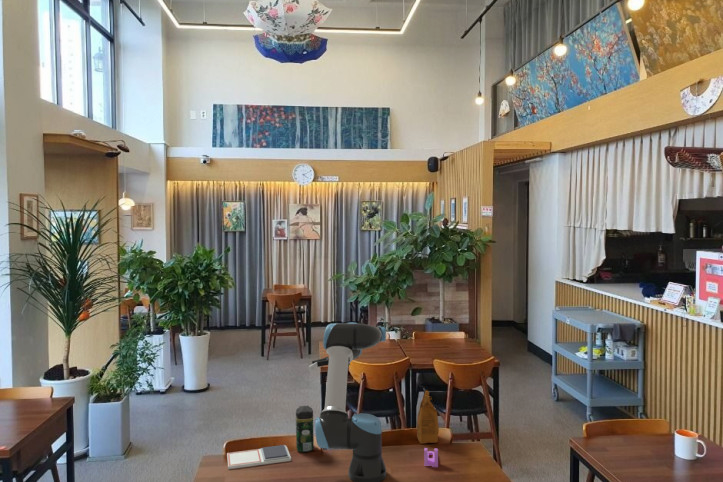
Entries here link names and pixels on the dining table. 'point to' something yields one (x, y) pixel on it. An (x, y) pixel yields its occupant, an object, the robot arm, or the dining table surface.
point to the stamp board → (250, 459)
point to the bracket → (431, 461)
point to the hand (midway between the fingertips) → (321, 370)
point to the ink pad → (274, 452)
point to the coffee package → (427, 421)
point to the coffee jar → (304, 429)
